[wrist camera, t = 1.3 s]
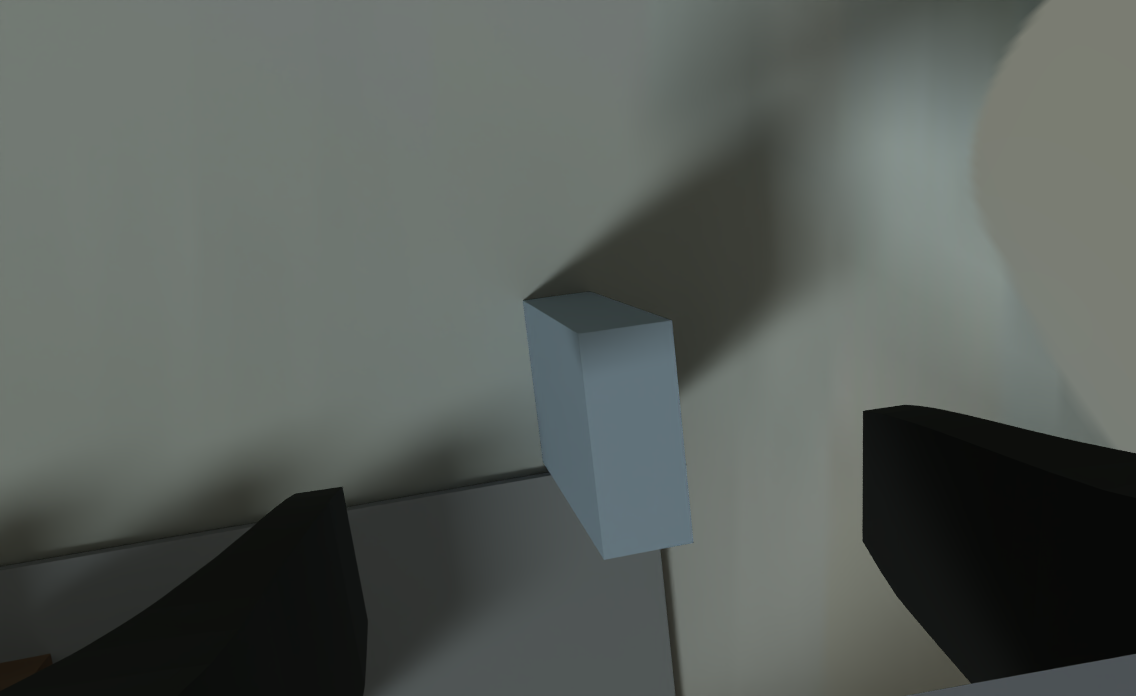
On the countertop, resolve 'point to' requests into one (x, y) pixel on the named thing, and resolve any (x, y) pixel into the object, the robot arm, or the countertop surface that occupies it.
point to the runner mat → (411, 596)
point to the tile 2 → (22, 669)
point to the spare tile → (611, 419)
